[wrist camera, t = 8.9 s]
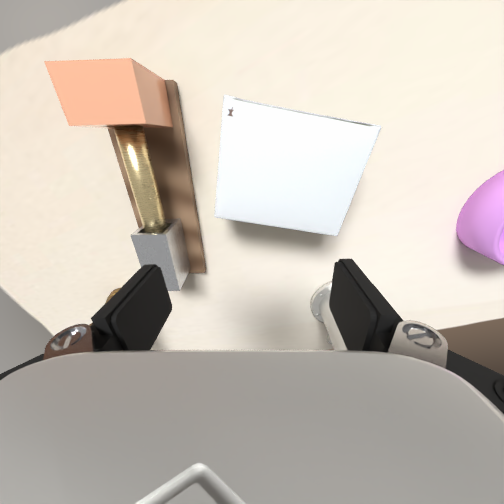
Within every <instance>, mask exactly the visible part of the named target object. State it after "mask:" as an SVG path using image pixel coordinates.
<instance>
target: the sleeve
mask: <svg viewBox="0 0 504 504" xmlns="http://www.w3.org/2000/svg"><path fill="white" fill-rule="evenodd" d="M165 220H166V224H167V230H166V231H165V232H164V233H145V231H144V228H143V226H141V227H140V228H139V229H138V230H136V231H135V232H134V233H133V234H131V238H132V241H133V244H134V247H135V250H136V253H137V256H138V259H139V262H140V264H141V267H142V266H143V265H146V264H156V265H157V266H158V267H160V268H161V270H162V273H163V277H164V280H165V284H166V287H167V290H168V291H180V290H181V287H182V285H183V283H184V281H185V279H186V277H187V275H188V273H189V271H190V269H191V267H190V262H189V257H188V253H187V248H186V243H185V238H184V233H183V228H182V223H181V218H179V219H165Z"/></svg>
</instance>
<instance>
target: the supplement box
mask: <svg viewBox="0 0 504 504" xmlns="http://www.w3.org/2000/svg"><path fill="white" fill-rule="evenodd" d="M380 130H381V126H379V125H373V124H368V123H362V122H357V121H351V120H346V119H341V118H335V117H329V116H324V115H318V114H313V113H308V112H303V111H298V110H293V109H287V108H282V107H277V106H272V105H267V104H262V103H257V102H253V101H248V100H243V99H239V98H236V97H232V96H228V95H224V100H223V111H222V124H221V138H220V152H219V165H218V178H217V191H216V203H215V215H214V217H216V218H222V219H228V220H234V221H241V222H247V223H254V224H261V225H267V226H273V227H280V228H287V229H293V230H300V231H306V232H312V233H319V234H326V235H333V236H338V233H339V231H340V228H341V226H342V223H343V221H344V218H345V216H346V214H347V211H348V208H349V206H350V203H351V201H352V198H353V196H354V193H355V191H356V188H357V186H358V183H359V181H360V178H361V176H362V173H363V171H364V168H365V166H366V164H367V161H368V159H369V156H370V154H371V151H372V149H373V147H374V144H375V142H376V139H377V137H378V134H379V132H380Z"/></svg>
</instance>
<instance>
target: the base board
mask: <svg viewBox="0 0 504 504" xmlns="http://www.w3.org/2000/svg"><path fill="white" fill-rule="evenodd" d="M165 84H166V90H167V96H168V101H169V107H170V112H171V118H172V123H173V127H162V128H144V132H145V137H146V141H147V145H148V149H149V153H150V157H151V162H152V166H153V170H154V174H155V178H156V182H157V187H158V191H159V195H160V199H161V203H162V207H163V212H164V216H165V219H179V218H181V223H182V228H183V233H184V238H185V243H186V248H187V253H188V257H189V262H190V267H191V269H190V271H189V273H205V270H206V265H205V258H204V252H203V246H202V239H201V233H200V227H199V220H198V214H197V208H196V201H195V195H194V189H193V183H192V176H191V170H190V164H189V157H188V151H187V145H186V138H185V132H184V126H183V119H182V113H181V107H180V100H179V94H178V88H177V83H176V82H175V81H174V80H165ZM108 131H109V134H110V137H111V140H112V143H113V147H114V150H115V153H116V156H117V159H118V163H119V166H120V169H121V172H122V175H123V179H124V182H125V185H126V188H127V191H128V195H129V198H130V201H131V204H132V207H133V211H134V214H135V217H136V220H137V223H138V227H139V228H140V227H141V226H143V225H142V221H141V218H140V215H139V212H138V208H137V205H136V202H135V198H134V195H133V192H132V188H131V185H130V182H129V178H128V175H127V172H126V168H125V165H124V162H123V158H122V155H121V152H120V148H119V145H118V142H117V138H116V135H115V132H114V129H110V128H108Z"/></svg>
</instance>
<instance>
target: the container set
mask: <svg viewBox="0 0 504 504" xmlns="http://www.w3.org/2000/svg"><path fill="white" fill-rule="evenodd" d="M456 231H457V236H458V238H459V240H460V241H461V242H462V243H463V244H464V245H465V246H467V247H469V248H471V249H473V250H475V251H477V252H478V253H480V254H482V255H484V256H486V257H488V258H490V259H492V260H494V261H496V262H498V263H500V264H502V265H504V170H503V171H501V172H499V173H497V174H496V175H494V176H493V177H491V178H490V179H488V180H487V181H486V182H485V183H483V184H482V185H481V186H480V187H479V188H478V189H477V190H476V191H475V192H474V193H473V194H472V195H471V196H470V197H469V199H468V200H467V202H466V203H465V204H464V206H463V208H462V210H461V212H460V214H459V217H458V220H457V227H456Z"/></svg>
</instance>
